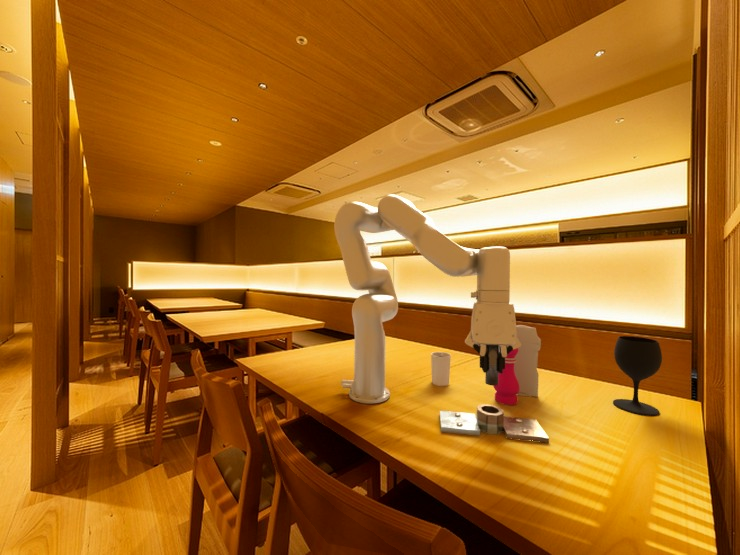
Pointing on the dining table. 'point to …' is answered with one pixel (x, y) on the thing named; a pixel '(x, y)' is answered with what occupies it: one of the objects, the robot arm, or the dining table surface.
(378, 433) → the dining table surface
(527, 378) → the beige upright panel
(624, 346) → the wine glass
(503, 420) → the hinge
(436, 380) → the paper coffee cup
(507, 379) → the pepper mill
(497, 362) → the hinge pin
